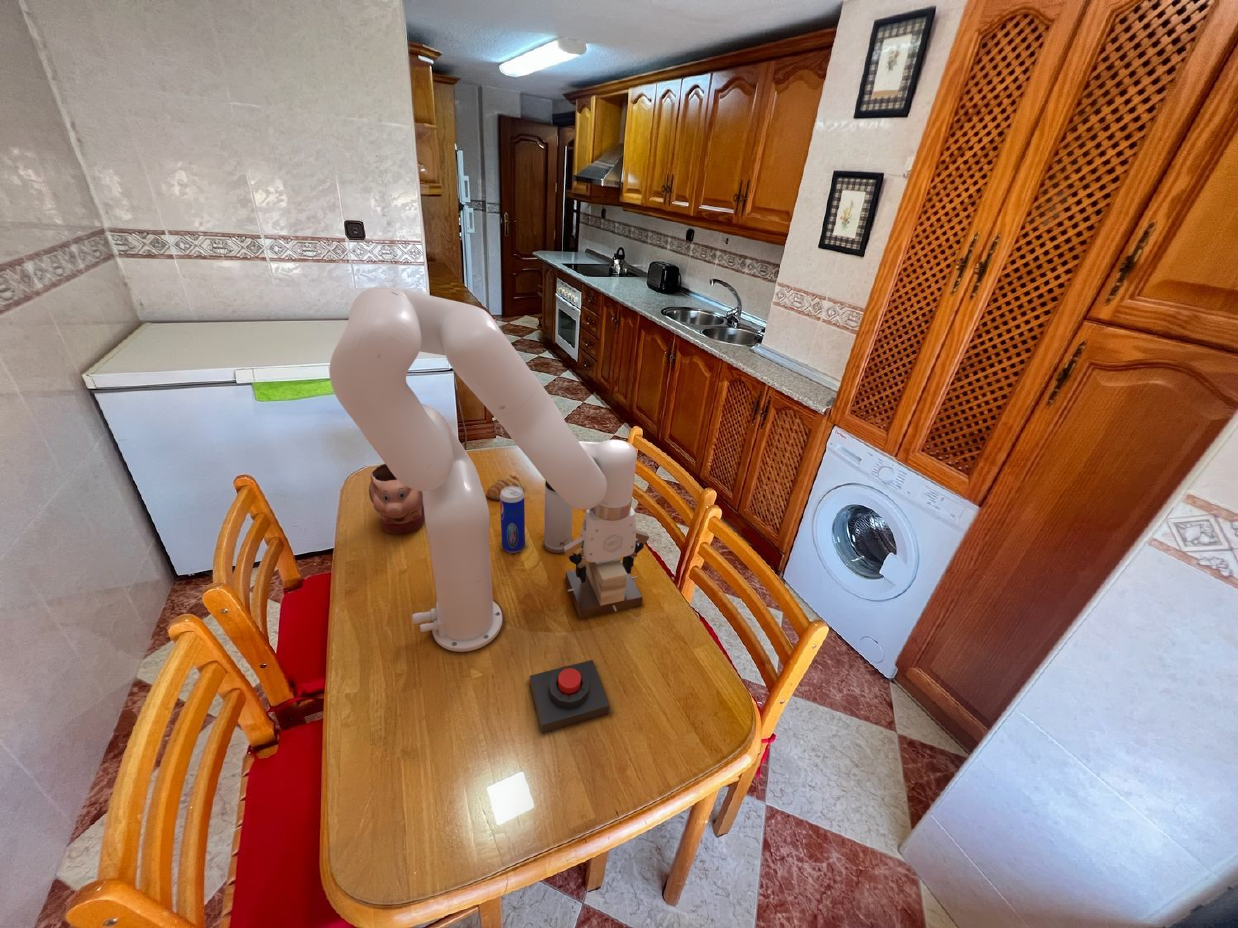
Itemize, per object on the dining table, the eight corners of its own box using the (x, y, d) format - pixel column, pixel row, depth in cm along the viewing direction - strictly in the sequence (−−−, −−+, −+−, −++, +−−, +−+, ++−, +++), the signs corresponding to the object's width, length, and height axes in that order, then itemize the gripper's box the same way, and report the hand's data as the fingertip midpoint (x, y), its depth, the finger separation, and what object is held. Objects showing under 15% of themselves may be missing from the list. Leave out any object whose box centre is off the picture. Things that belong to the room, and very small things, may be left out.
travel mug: (568, 556, 111) (571, 481, 101) (540, 550, 112) (541, 476, 102) (576, 539, 117) (580, 466, 107) (549, 533, 118) (550, 461, 107)
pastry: (497, 505, 125) (496, 493, 124) (481, 494, 129) (480, 482, 127) (526, 491, 132) (525, 479, 130) (509, 481, 135) (509, 469, 134)
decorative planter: (374, 499, 123) (365, 450, 116) (426, 491, 128) (420, 444, 121) (375, 549, 108) (364, 497, 101) (435, 539, 113) (428, 488, 106)
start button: (561, 697, 78) (561, 690, 77) (555, 678, 81) (555, 671, 80) (583, 691, 79) (583, 684, 78) (576, 672, 82) (577, 665, 81)
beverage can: (497, 549, 111) (494, 494, 104) (510, 536, 116) (508, 482, 108) (517, 556, 110) (515, 501, 102) (529, 543, 114) (528, 489, 106)
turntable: (577, 628, 94) (578, 619, 93) (557, 574, 106) (558, 565, 105) (650, 612, 99) (651, 602, 98) (623, 562, 111) (624, 553, 110)
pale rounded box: (624, 600, 98) (627, 573, 94) (600, 605, 96) (602, 578, 93) (606, 563, 107) (608, 537, 103) (583, 567, 105) (585, 541, 101)
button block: (541, 733, 76) (541, 718, 74) (529, 683, 83) (529, 668, 81) (608, 713, 80) (610, 698, 78) (592, 667, 87) (593, 652, 85)
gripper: (570, 523, 85) (567, 595, 94) (661, 509, 91) (650, 578, 100) (560, 499, 91) (557, 568, 100) (645, 487, 97) (636, 554, 106)
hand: (604, 573), depth 100 cm, fingers open, 9 cm apart
